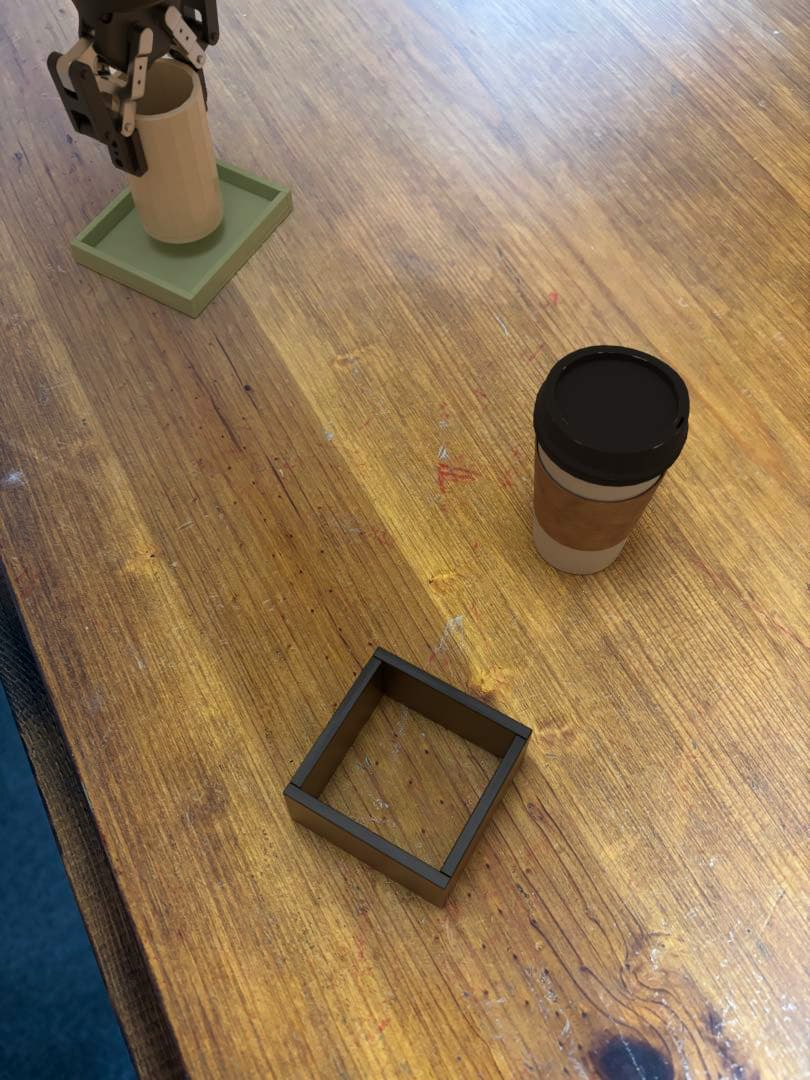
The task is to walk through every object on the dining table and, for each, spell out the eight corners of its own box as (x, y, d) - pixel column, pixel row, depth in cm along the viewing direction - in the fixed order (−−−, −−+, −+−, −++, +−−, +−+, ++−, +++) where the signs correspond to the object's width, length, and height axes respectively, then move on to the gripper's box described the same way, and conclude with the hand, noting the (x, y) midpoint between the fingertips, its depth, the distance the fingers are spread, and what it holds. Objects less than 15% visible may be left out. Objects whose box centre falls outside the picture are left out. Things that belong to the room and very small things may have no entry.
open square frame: (441, 909, 58) (444, 890, 53) (290, 818, 60) (281, 792, 56) (524, 758, 62) (533, 729, 57) (380, 679, 64) (378, 645, 60)
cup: (191, 255, 78) (161, 132, 69) (122, 224, 80) (84, 99, 71) (240, 202, 81) (219, 76, 72) (173, 173, 83) (143, 46, 73)
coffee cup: (607, 615, 66) (656, 485, 53) (489, 553, 69) (509, 414, 56) (663, 517, 70) (723, 373, 57) (549, 461, 72) (582, 310, 59)
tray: (195, 319, 78) (190, 300, 77) (76, 262, 81) (69, 243, 80) (293, 209, 84) (291, 189, 82) (179, 159, 87) (174, 139, 85)
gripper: (131, -177, 64) (181, 66, 79) (-31, -56, 58) (56, 184, 73) (233, -142, 63) (265, 100, 77) (77, -14, 56) (144, 224, 71)
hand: (163, 140), depth 75 cm, fingers closed on cup, 6 cm apart
